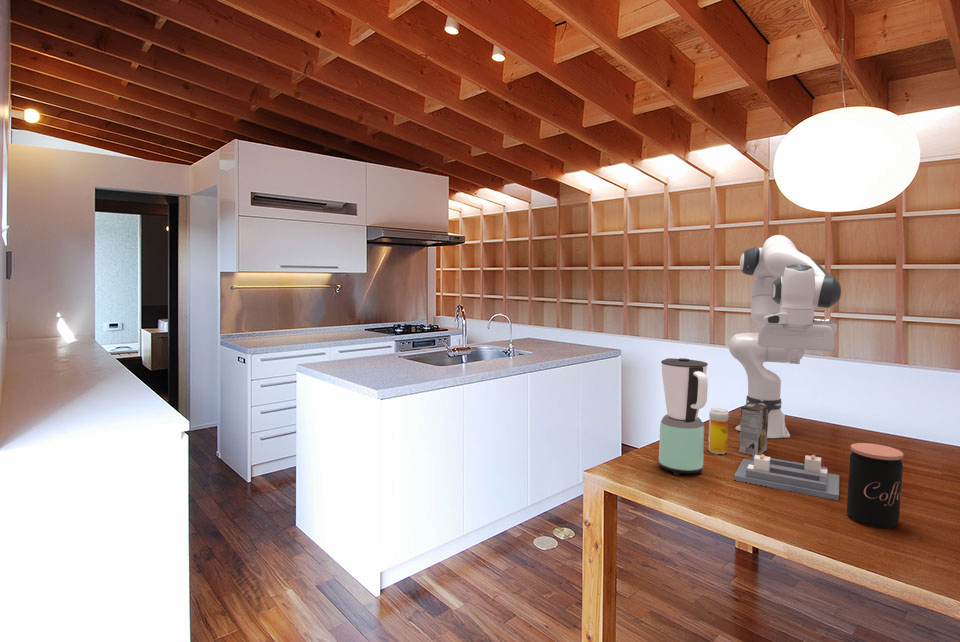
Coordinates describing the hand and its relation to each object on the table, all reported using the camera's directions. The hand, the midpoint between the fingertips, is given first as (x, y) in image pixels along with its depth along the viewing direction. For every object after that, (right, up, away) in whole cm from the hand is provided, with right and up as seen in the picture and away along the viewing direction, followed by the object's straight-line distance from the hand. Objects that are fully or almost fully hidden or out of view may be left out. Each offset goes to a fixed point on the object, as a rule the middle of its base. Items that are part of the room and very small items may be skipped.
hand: (794, 363), depth 165 cm
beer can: (-14, -33, +22) cm, 41 cm away
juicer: (-33, -34, +4) cm, 47 cm away
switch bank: (-4, -35, -4) cm, 35 cm away
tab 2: (+3, -33, -4) cm, 33 cm away
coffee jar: (+2, -37, -30) cm, 47 cm away
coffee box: (-1, -33, +23) cm, 40 cm away
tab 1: (-12, -33, -4) cm, 35 cm away
